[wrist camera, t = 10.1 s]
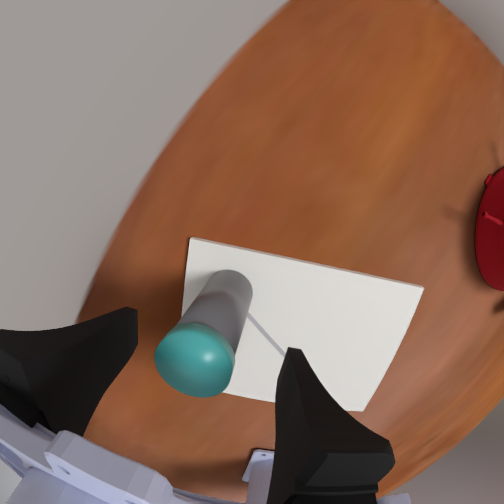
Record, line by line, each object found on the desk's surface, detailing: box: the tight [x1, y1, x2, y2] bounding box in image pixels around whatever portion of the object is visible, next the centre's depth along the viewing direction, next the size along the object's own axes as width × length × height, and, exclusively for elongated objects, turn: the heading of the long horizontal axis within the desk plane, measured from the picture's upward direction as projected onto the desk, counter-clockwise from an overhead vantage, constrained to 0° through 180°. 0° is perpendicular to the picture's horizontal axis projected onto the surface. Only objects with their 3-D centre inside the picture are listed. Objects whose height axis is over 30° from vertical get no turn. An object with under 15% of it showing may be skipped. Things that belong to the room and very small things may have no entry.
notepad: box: [181, 237, 424, 411], centre depth 19 cm, size 16×12×1 cm
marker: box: [154, 270, 253, 397], centre depth 14 cm, size 3×3×8 cm
